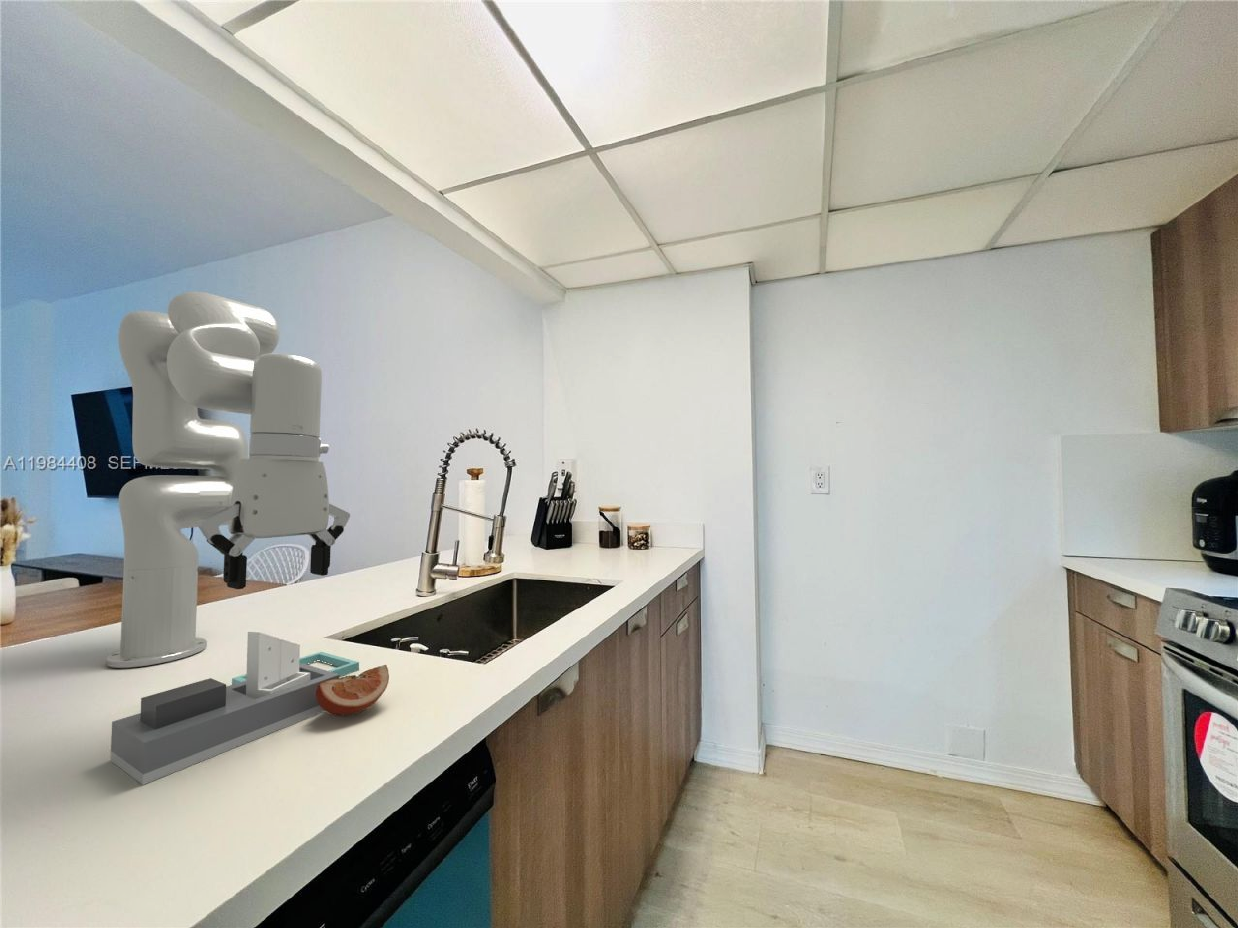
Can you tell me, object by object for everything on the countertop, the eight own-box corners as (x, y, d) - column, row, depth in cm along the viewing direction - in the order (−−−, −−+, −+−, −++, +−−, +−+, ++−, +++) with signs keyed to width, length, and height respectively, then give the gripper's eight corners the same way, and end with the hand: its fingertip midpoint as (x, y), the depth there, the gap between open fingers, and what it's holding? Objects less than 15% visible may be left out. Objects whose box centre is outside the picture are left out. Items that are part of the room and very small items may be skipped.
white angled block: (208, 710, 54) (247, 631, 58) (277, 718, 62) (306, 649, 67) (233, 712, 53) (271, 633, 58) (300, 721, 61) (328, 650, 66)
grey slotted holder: (110, 760, 50) (113, 698, 50) (301, 691, 67) (302, 645, 67) (142, 784, 46) (145, 717, 46) (338, 705, 62) (339, 656, 63)
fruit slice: (375, 694, 66) (376, 658, 66) (399, 707, 62) (400, 668, 62) (307, 717, 59) (308, 677, 59) (329, 734, 55) (330, 690, 55)
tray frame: (231, 686, 69) (232, 678, 69) (321, 658, 80) (321, 651, 80) (268, 701, 64) (269, 692, 64) (358, 669, 75) (359, 662, 75)
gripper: (335, 454, 71) (331, 567, 71) (189, 446, 56) (182, 590, 56) (365, 453, 68) (361, 572, 67) (217, 444, 53) (210, 598, 52)
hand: (280, 580), depth 61 cm, fingers open, 9 cm apart
